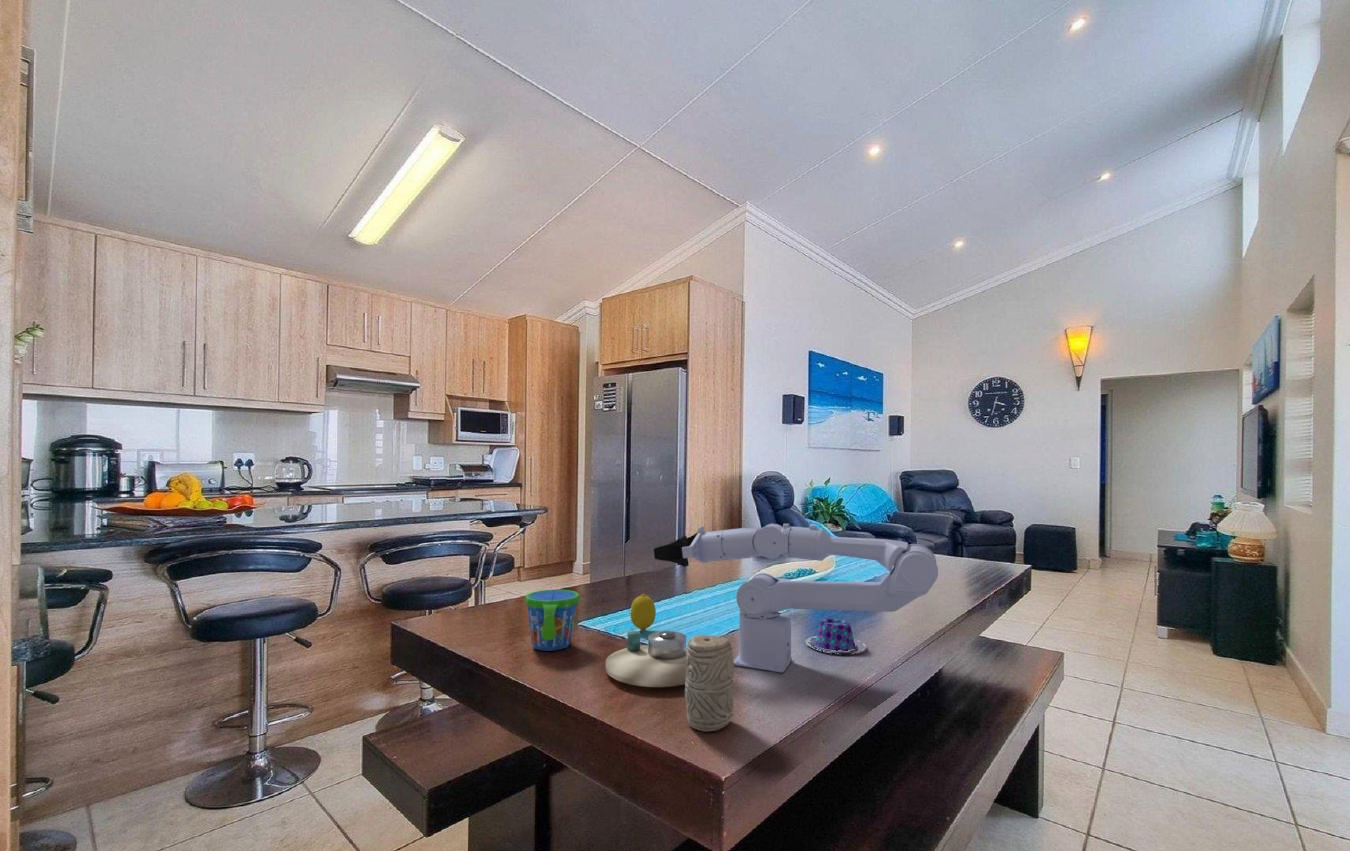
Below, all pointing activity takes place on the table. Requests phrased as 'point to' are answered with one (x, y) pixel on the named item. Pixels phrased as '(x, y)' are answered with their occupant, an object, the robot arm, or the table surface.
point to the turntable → (644, 666)
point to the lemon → (643, 612)
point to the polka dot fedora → (835, 636)
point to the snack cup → (551, 618)
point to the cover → (667, 645)
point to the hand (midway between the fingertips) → (662, 551)
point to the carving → (709, 682)
